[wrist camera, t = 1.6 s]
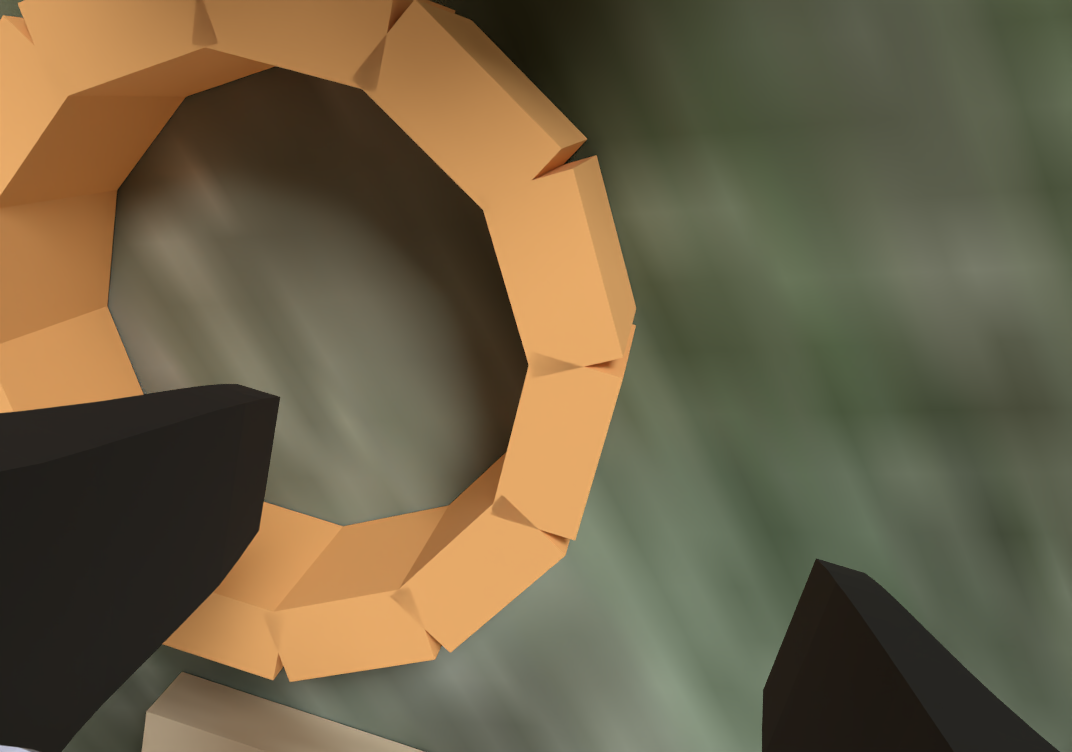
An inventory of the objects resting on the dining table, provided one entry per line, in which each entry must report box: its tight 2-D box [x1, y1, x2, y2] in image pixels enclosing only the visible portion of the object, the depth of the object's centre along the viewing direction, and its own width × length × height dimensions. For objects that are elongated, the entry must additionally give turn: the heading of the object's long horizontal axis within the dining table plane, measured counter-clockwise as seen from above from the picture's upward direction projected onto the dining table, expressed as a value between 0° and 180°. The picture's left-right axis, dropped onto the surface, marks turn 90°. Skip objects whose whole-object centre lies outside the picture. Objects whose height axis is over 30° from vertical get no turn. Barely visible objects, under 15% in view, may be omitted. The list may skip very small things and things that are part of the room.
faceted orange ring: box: [0, 0, 636, 682], centre depth 17 cm, size 12×12×4 cm
